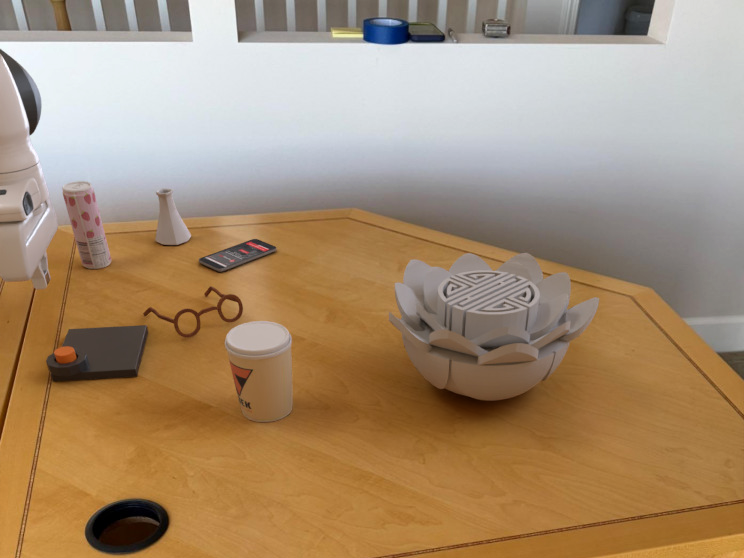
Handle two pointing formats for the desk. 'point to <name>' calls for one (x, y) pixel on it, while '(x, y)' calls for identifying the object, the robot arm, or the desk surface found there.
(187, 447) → the desk surface
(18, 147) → the robot arm
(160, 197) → the flask
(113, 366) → the scale
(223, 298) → the glasses
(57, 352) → the power button
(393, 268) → the desk surface
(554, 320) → the decorative bowl
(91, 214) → the beverage can
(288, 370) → the coffee cup
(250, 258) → the smartphone
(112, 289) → the desk surface
